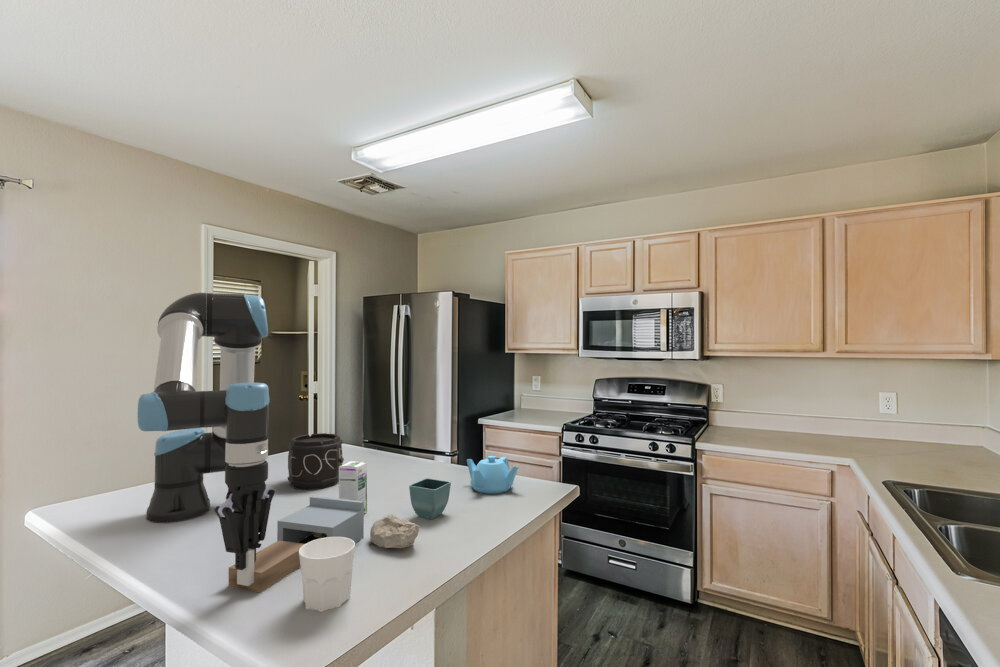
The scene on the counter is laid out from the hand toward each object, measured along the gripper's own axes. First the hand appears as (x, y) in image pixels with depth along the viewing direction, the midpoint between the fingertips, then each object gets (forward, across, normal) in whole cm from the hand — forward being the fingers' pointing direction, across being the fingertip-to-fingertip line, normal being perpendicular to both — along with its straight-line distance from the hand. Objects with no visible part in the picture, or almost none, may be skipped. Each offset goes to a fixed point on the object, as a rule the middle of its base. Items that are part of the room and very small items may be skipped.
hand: (245, 583), depth 95 cm
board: (+2, +8, +1) cm, 8 cm away
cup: (+2, +2, -17) cm, 17 cm away
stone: (+2, +28, -16) cm, 33 cm away
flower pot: (+2, +49, -17) cm, 52 cm away
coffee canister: (+2, +67, +34) cm, 75 cm away
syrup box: (+2, +43, +4) cm, 43 cm away
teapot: (+2, +78, -26) cm, 82 cm away
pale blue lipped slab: (+2, +23, 0) cm, 23 cm away
